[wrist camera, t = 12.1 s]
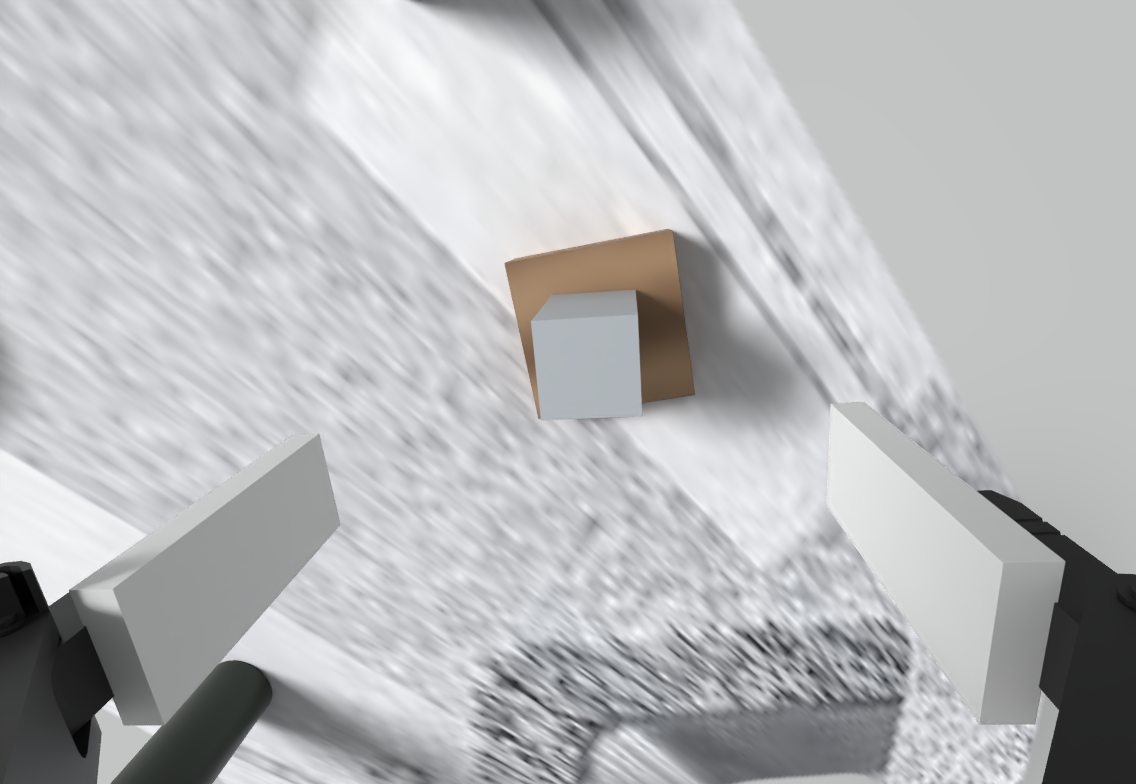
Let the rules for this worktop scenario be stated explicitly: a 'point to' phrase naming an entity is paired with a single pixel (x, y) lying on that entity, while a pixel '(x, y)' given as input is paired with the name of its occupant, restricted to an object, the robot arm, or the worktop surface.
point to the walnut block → (614, 269)
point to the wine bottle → (203, 729)
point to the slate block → (588, 356)
